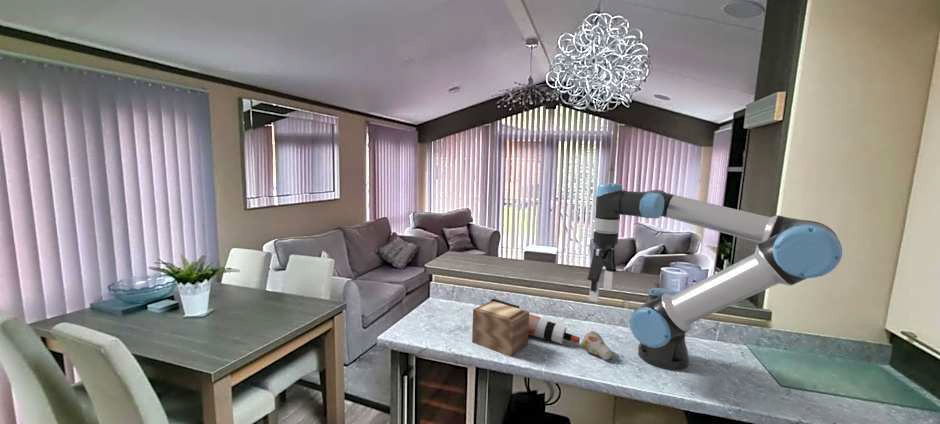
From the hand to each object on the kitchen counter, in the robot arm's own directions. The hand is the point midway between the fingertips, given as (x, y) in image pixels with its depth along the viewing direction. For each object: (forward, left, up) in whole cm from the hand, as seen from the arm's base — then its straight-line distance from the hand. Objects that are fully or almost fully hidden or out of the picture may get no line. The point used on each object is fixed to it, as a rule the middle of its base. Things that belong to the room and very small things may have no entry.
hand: (600, 295), depth 127 cm
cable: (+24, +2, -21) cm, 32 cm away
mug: (0, 0, -21) cm, 21 cm away
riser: (+29, +14, -21) cm, 38 cm away
